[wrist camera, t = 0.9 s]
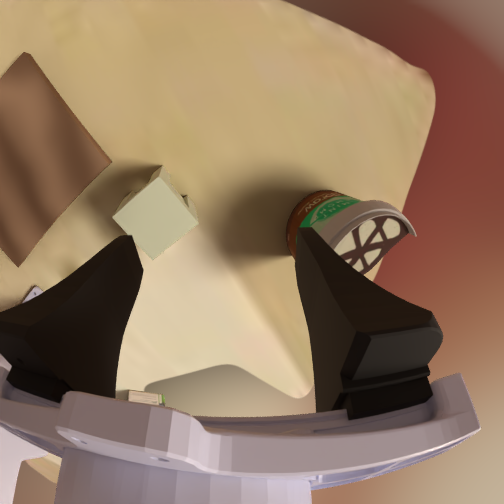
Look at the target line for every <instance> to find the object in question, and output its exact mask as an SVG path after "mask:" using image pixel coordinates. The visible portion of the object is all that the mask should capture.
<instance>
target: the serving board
mask: <svg viewBox="0 0 504 504" xmlns="http://www.w3.org/2000/svg"><path fill="white" fill-rule="evenodd" d="M110 163H112V161H111V160H110V159H109V157H108V156H107V155H106V154H105V152H104V151H103V150H102V149H101V147H100V146H99V145H98V144H97V143H96V141H95V140H94V139H93V138H92V136H91V135H90V134H89V132H88V131H87V130H86V129H85V127H84V126H83V125H82V124H81V122H80V121H79V120H78V118H77V117H76V116H75V115H74V113H73V112H72V111H71V109H70V108H69V107H68V105H67V104H66V103H65V101H64V100H63V99H62V97H61V96H60V95H59V93H58V92H57V91H56V89H55V88H54V87H53V85H52V84H51V83H50V81H49V80H48V78H47V77H46V76H45V74H44V73H43V72H42V70H41V69H40V67H39V66H38V64H37V63H36V62H35V60H34V59H33V57H32V56H31V54H28V53H26V52H23V53H22V55H21V56H20V57H19V58H18V59H17V60H16V61H15V62H14V64H13V65H12V66H11V67H10V68H9V69H8V71H7V72H6V73H5V74H4V75H3V77H2V78H1V79H0V248H1V249H2V250H3V251H4V252H5V253H6V255H7V256H8V257H9V258H10V259H11V260H12V261H13V262H14V264H15V265H16V266H17V267H19V266H20V265H21V264H22V263H23V261H24V260H25V259H26V257H27V256H28V255H29V253H30V252H31V251H32V249H33V248H34V247H35V245H36V244H37V243H38V241H39V240H40V239H41V238H42V236H43V235H44V234H45V233H46V231H47V230H48V229H49V228H50V227H51V225H52V224H53V223H54V222H55V221H56V220H57V218H58V217H59V216H60V215H61V214H62V213H63V212H64V210H65V209H66V208H67V207H68V206H69V205H70V204H71V203H72V202H73V200H74V199H75V198H76V197H77V196H78V195H79V194H80V193H81V192H82V191H83V190H84V189H85V188H86V187H87V186H88V185H89V184H90V183H91V182H92V181H93V180H94V179H95V178H96V177H97V176H98V175H99V174H100V173H101V172H102V171H103V170H104V169H105V168H106V167H107V166H108V165H109V164H110Z"/></svg>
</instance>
